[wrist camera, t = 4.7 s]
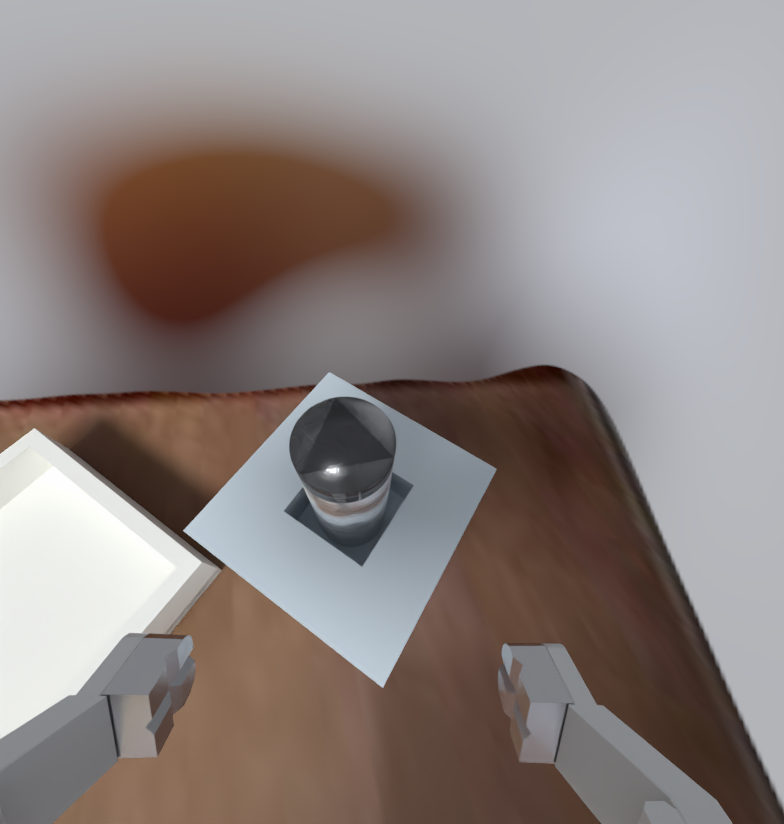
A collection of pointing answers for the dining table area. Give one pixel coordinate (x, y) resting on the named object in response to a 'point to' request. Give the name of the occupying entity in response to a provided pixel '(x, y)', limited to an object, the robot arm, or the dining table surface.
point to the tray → (78, 575)
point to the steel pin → (345, 466)
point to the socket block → (337, 565)
